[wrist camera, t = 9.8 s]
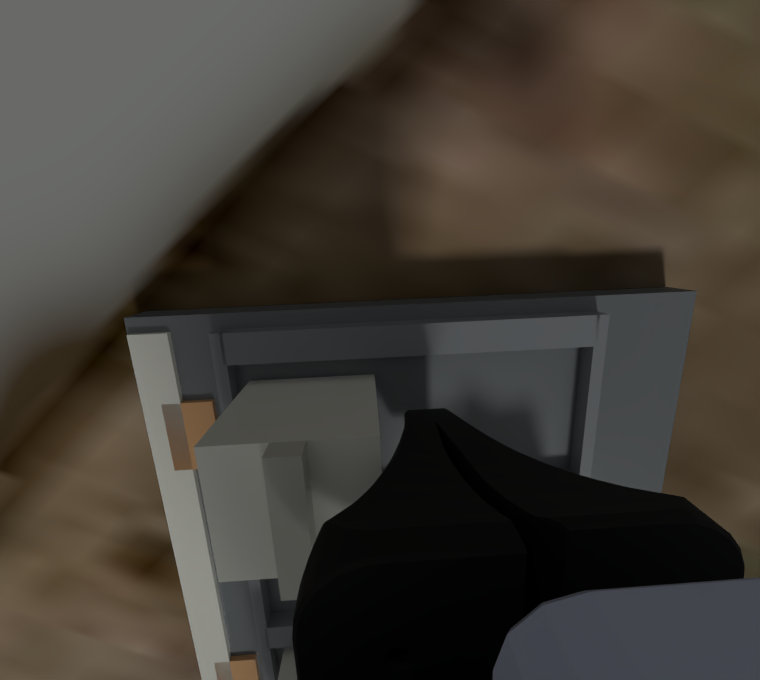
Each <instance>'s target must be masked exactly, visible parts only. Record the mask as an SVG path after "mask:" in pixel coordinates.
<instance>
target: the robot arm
mask: <svg viewBox="0 0 760 680" xmlns="http://www.w3.org/2000/svg"><path fill="white" fill-rule="evenodd" d="M292 642H293V649H294V657H295V665H296V672H297V680H760V577H758V578H744V561H743V557H742V553H741V549H740V547H739V546H738V544H737V543H736V541H735V540H734V538H733V537H732V535H731V534H730V533H729V532H727V531H726V530H725V529H723V528H722V527H721V526H720V525H718V524H717V523H716V522H715V521H713V520H712V519H711V518H710V517H708V516H707V515H706V514H705V513H703V512H702V511H701V510H699V509H698V508H697V507H696V506H694V505H693V504H692V503H691V502H689V501H688V500H687V499H686V498H684V497H680V496H674V495H669V494H663V493H658V492H652V491H646V490H641V489H635V488H630V487H625V486H621V485H617V484H613V483H608V482H604V481H600V480H596V479H593V478H589V477H586V476H582V475H579V474H575V473H572V472H569V471H566V470H563V469H560V468H557V467H554V466H551V465H549V464H546V463H543V462H541V461H538V460H536V459H534V458H531V457H529V456H527V455H524V454H522V453H520V452H518V451H516V450H513V449H511V448H509V447H507V446H506V445H504V444H502V443H500V442H498V441H496V440H495V439H493V438H491V437H489V436H488V435H486V434H484V433H483V432H481V431H479V430H478V429H476V428H475V427H473V426H471V425H470V424H468V423H467V422H465V421H464V420H462V419H461V418H459V417H458V416H456V415H455V414H453V413H452V412H450V411H449V410H447V409H445V408H438V409H420V410H407V411H406V413H405V414H404V430H403V433H402V436H401V439H400V442H399V444H398V446H397V448H396V450H395V453H394V455H393V456H392V458H391V460H390V462H389V463H388V465H387V466H386V468H385V469H384V471H383V472H382V474H381V475H380V476H379V477H378V479H377V480H376V481H375V483H374V484H373V485H372V486H371V487H370V488H369V489H368V490H367V491H366V492H365V493H364V494H363V495H362V496H361V497H360V498H359V499H358V500H357V501H355V502H354V503H353V504H351V505H350V506H349V507H347V508H346V509H344V510H343V511H341V512H340V513H338V514H337V515H335V516H334V517H332V518H330V519H329V520H327V521H325V523H324V524H323V525H322V527H321V529H320V531H319V534H318V536H317V538H316V541H315V543H314V545H313V548H312V550H311V553H310V555H309V558H308V561H307V564H306V567H305V570H304V573H303V576H302V579H301V583H300V587H299V591H298V596H297V601H296V607H295V612H294V618H293V632H292Z"/></svg>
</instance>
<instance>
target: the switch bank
mask: <svg viewBox="0 0 760 680" xmlns="http://www.w3.org/2000/svg"><path fill="white" fill-rule="evenodd" d="M696 292H697V291H693V290H685V289H678V288H670V287H657V288H635V289H614V290H592V291H571V292H549V293H528V294H506V295H485V296H463V297H442V298H420V299H399V300H377V301H356V302H334V303H313V304H291V305H270V306H248V307H227V308H205V309H184V310H162V311H145V312H142V313H139V314H135V315H132V316H129V317H125V318H124V321H125V326H126V331H127V340H128V344H129V349H130V354H131V358H132V363H133V367H134V372H135V376H136V381H137V386H138V390H139V395H140V399H141V404H142V408H143V413H144V418H145V422H146V427H147V431H148V436H149V440H150V445H151V450H152V454H153V459H154V463H155V468H156V472H157V477H158V482H159V486H160V491H161V495H162V500H163V504H164V509H165V514H166V518H167V523H168V527H169V532H170V536H171V541H172V546H173V550H174V555H175V559H176V564H177V568H178V573H179V578H180V582H181V587H182V591H183V596H184V600H185V605H186V609H187V614H188V619H189V623H190V628H191V632H192V637H193V641H194V646H195V651H196V655H197V660H198V664H199V669H200V673H201V678H202V680H278V676H279V671H280V666H281V661H282V656H283V651H284V647H293V642H292V632H293V618H294V612H295V607H296V601H297V600H287V601H281V598H280V590H279V583H278V578H272V579H259V580H245V581H231V582H219V581H218V576H217V570H216V565H215V560H214V554H213V549H212V544H211V538H210V533H209V527H208V522H207V517H206V511H205V506H204V501H203V495H202V490H201V485H200V479H199V474H198V468H197V463H196V458H195V452H194V446H195V445H196V444H197V443H198V441H199V440H200V439H201V438H202V437H203V435H204V434H205V433H206V432H207V431H208V429H209V428H210V427H211V426H212V425H213V424H214V422H215V421H216V420H217V419H218V418H219V416H220V415H221V414H222V413H223V412H224V411H225V409H226V408H227V407H228V406H229V405H230V403H231V402H232V401H233V400H234V399H235V397H236V396H237V395H238V394H239V393H240V392H241V390H242V389H243V388H244V387H245V386H246V384H247V383H248V382H249V381H256V380H274V379H293V378H312V377H331V376H349V375H368V374H374V375H375V385H376V396H377V407H378V417H379V428H380V442H381V465H382V472H383V471H384V469H385V468H386V466H387V465H388V463H389V462H390V460H391V458H392V456H393V455H394V453H395V450H396V448H397V446H398V444H399V442H400V439H401V436H402V433H403V430H404V414H405V413H406V411H407V410H420V409H438V408H445V409H447V410H449V411H450V412H452V413H453V414H455V415H456V416H458V417H459V418H461V419H462V420H464V421H465V422H467V423H468V424H470V425H471V426H473V427H475V428H476V429H478V430H479V431H481V432H483V433H484V434H486V435H488V436H489V437H491V438H493V439H495V440H496V441H498V442H500V443H502V444H504V445H506V446H507V447H509V448H511V449H513V450H516V451H518V452H520V453H522V454H524V455H527V456H529V457H531V458H534V459H536V460H538V461H541V462H543V463H546V464H549V465H551V466H554V467H557V468H560V469H563V470H566V471H569V472H572V473H575V474H579V475H582V476H586V477H589V478H593V479H596V480H600V481H604V482H608V483H613V484H617V485H621V486H625V487H630V488H635V489H641V490H646V491H652V492H658V493H661V492H662V486H663V480H664V474H665V469H666V463H667V457H668V452H669V446H670V440H671V435H672V429H673V423H674V417H675V412H676V406H677V400H678V395H679V389H680V383H681V377H682V372H683V366H684V360H685V355H686V349H687V343H688V338H689V332H690V326H691V320H692V315H693V309H694V303H695V298H696Z"/></svg>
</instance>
